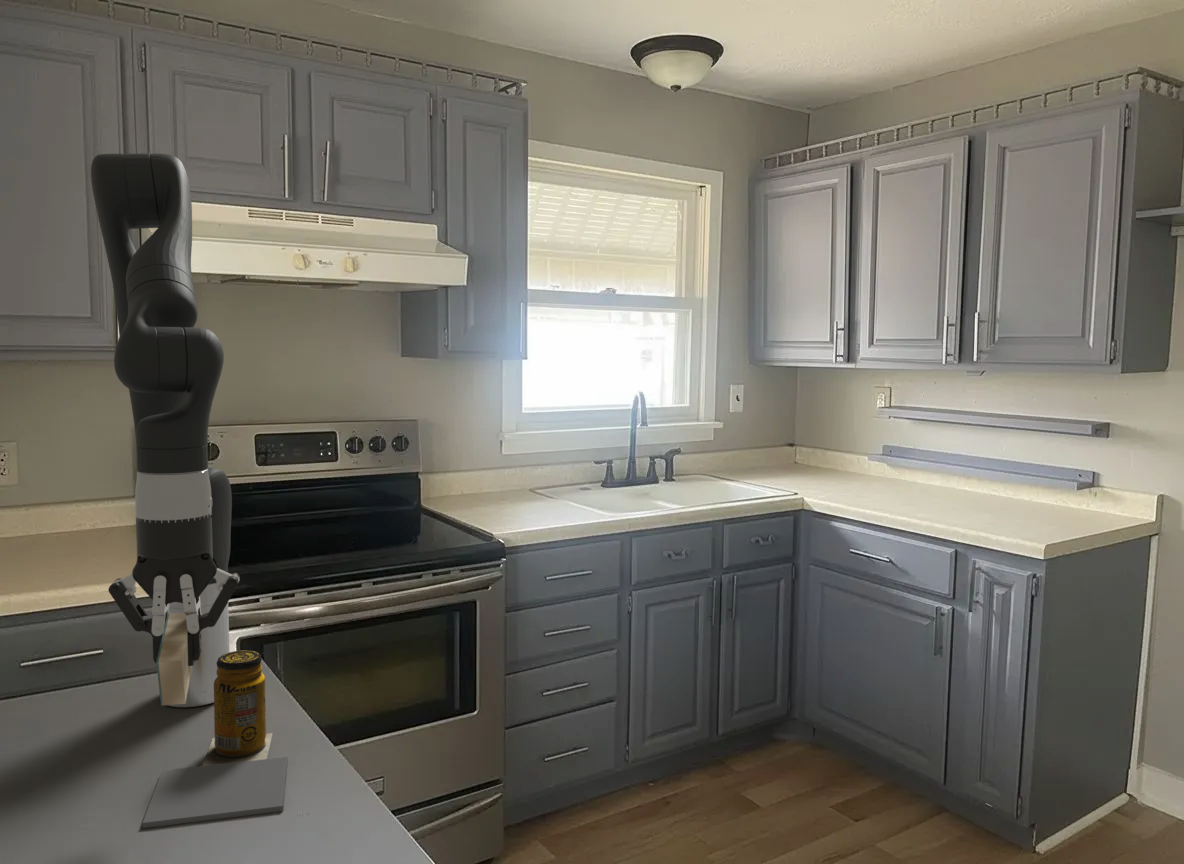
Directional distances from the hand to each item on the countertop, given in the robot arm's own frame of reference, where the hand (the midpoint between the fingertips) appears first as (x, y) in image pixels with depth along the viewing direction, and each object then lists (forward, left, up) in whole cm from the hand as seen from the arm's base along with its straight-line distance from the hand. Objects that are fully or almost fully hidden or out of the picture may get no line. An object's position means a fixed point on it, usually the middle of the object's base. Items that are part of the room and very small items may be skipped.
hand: (178, 664), depth 99 cm
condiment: (-11, +5, -16) cm, 20 cm away
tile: (+5, 0, 0) cm, 5 cm away
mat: (0, +4, -15) cm, 16 cm away
